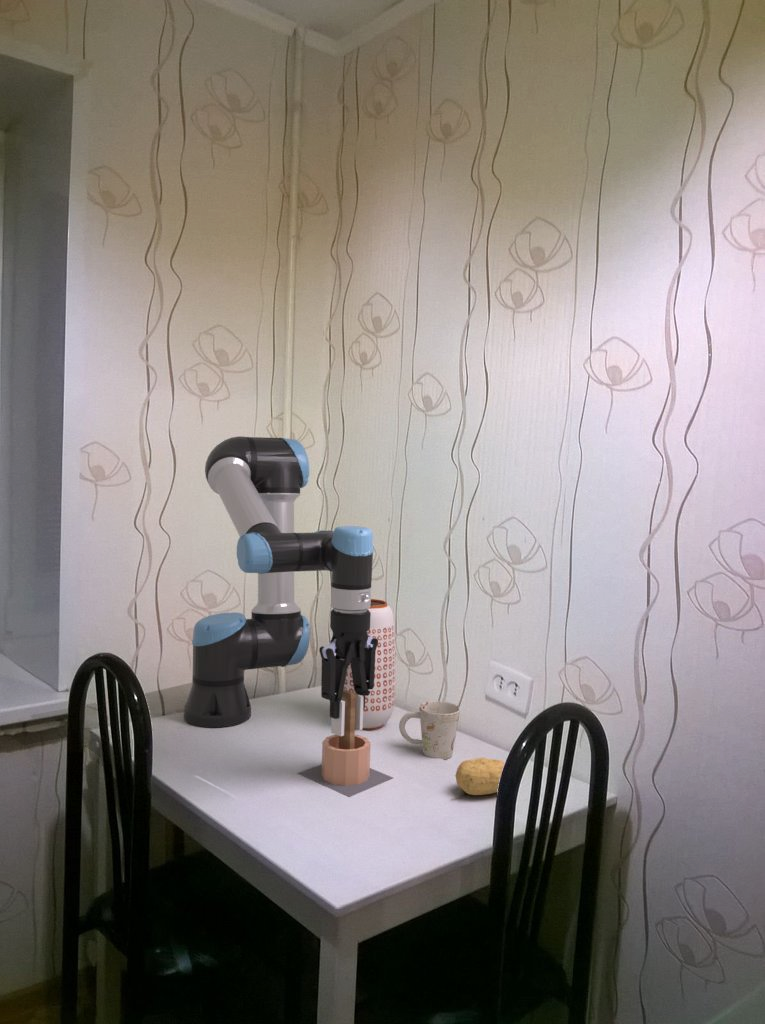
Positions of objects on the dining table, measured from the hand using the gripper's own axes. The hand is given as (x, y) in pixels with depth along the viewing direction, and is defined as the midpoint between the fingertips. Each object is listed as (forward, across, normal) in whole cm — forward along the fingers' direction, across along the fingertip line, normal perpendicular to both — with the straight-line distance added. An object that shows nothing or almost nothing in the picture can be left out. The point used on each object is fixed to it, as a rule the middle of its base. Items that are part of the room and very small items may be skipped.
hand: (346, 730), depth 147 cm
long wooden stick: (+8, 0, 0) cm, 8 cm away
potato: (+9, +14, -22) cm, 28 cm away
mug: (+9, +21, -3) cm, 23 cm away
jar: (+9, 0, 0) cm, 9 cm away
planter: (+9, +24, +18) cm, 31 cm away
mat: (+9, 0, 0) cm, 9 cm away
